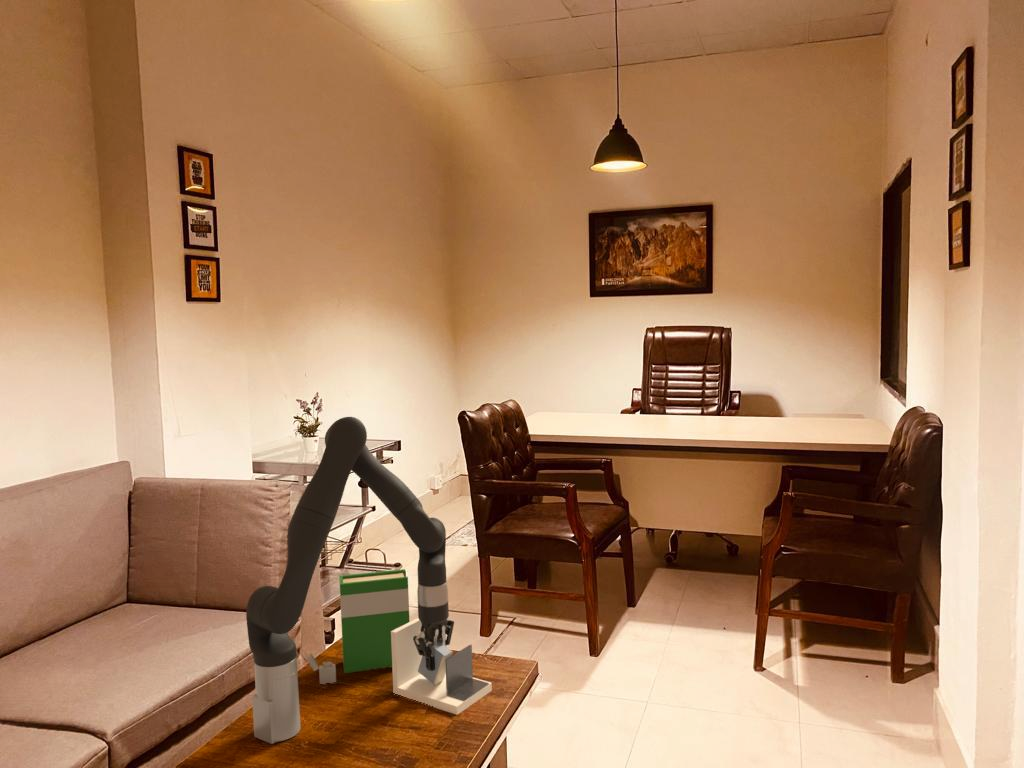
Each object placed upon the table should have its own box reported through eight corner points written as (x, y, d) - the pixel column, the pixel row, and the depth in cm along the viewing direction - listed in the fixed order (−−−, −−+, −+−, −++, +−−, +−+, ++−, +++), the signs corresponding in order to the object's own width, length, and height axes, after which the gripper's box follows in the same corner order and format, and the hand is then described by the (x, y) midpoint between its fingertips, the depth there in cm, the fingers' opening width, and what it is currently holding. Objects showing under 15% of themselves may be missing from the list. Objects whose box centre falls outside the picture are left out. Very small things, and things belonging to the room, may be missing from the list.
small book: (435, 685, 196) (445, 656, 193) (417, 671, 199) (426, 642, 196) (443, 680, 199) (452, 651, 196) (425, 666, 202) (434, 637, 199)
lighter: (336, 679, 205) (334, 649, 205) (336, 682, 204) (334, 652, 203) (307, 683, 204) (306, 653, 203) (307, 686, 202) (306, 656, 201)
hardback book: (408, 653, 220) (404, 569, 218) (411, 664, 213) (407, 577, 211) (343, 661, 216) (339, 575, 214) (344, 673, 209) (340, 584, 207)
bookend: (464, 701, 188) (463, 664, 187) (446, 695, 191) (445, 659, 190) (489, 684, 196) (487, 649, 195) (471, 679, 199) (470, 644, 198)
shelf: (457, 714, 185) (455, 648, 184) (393, 694, 197) (390, 631, 195) (491, 690, 197) (490, 628, 196) (429, 672, 208) (427, 612, 207)
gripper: (426, 612, 188) (429, 682, 190) (462, 593, 200) (464, 659, 201) (402, 606, 192) (405, 674, 194) (438, 588, 204) (441, 653, 206)
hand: (435, 666), depth 198 cm, fingers closed on small book, 3 cm apart
